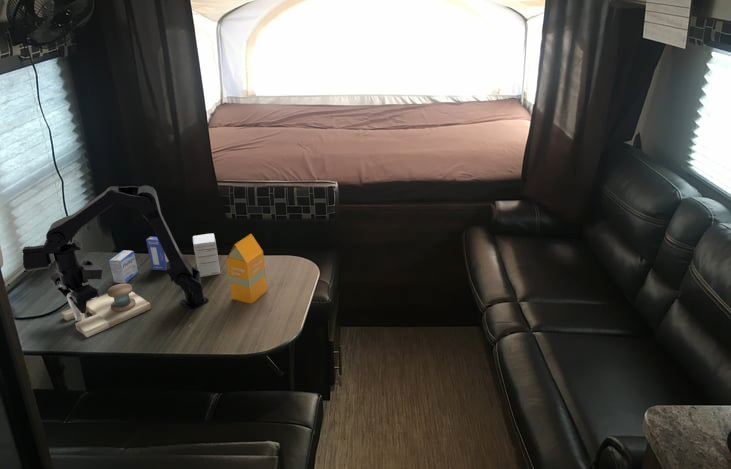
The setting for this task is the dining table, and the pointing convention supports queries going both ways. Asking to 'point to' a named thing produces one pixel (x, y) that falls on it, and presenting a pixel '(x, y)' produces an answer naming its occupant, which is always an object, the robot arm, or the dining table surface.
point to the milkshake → (76, 310)
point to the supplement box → (206, 254)
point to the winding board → (105, 314)
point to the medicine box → (123, 266)
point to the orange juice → (247, 270)
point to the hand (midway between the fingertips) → (80, 310)
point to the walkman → (156, 254)
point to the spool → (121, 297)
